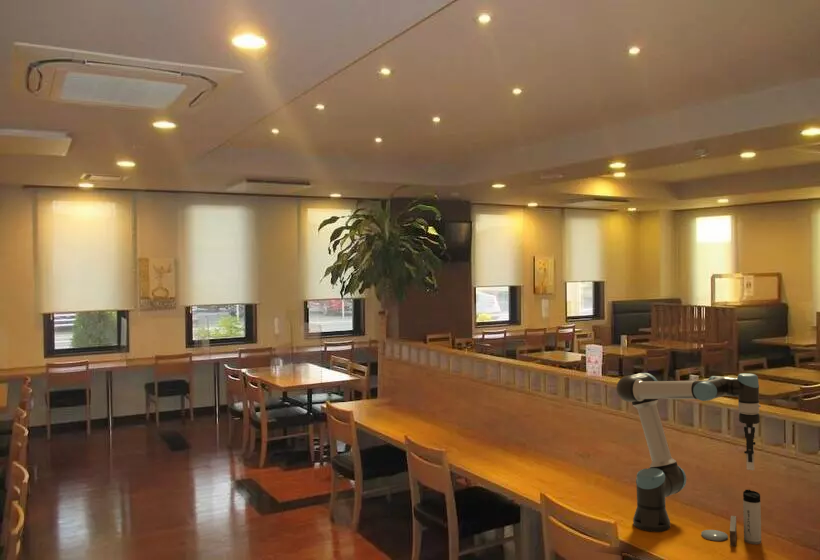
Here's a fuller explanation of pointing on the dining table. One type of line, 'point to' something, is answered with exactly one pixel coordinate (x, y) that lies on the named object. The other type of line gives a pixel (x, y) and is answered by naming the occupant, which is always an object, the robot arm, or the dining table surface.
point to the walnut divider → (733, 531)
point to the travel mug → (752, 517)
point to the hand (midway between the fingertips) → (750, 465)
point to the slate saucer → (714, 535)
